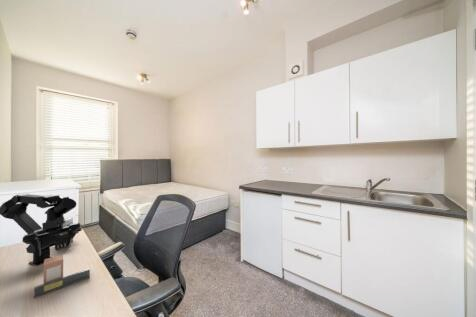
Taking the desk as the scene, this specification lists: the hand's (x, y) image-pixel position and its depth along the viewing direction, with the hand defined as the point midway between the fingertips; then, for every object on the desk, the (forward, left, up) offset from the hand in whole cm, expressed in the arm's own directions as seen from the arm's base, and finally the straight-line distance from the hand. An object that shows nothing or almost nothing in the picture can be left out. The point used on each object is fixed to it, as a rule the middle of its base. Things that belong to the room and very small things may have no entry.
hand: (54, 251), depth 80 cm
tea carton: (+8, -5, -10) cm, 13 cm away
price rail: (+13, -5, -10) cm, 17 cm away
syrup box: (-31, +23, -10) cm, 40 cm away
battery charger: (-24, +18, -10) cm, 32 cm away
